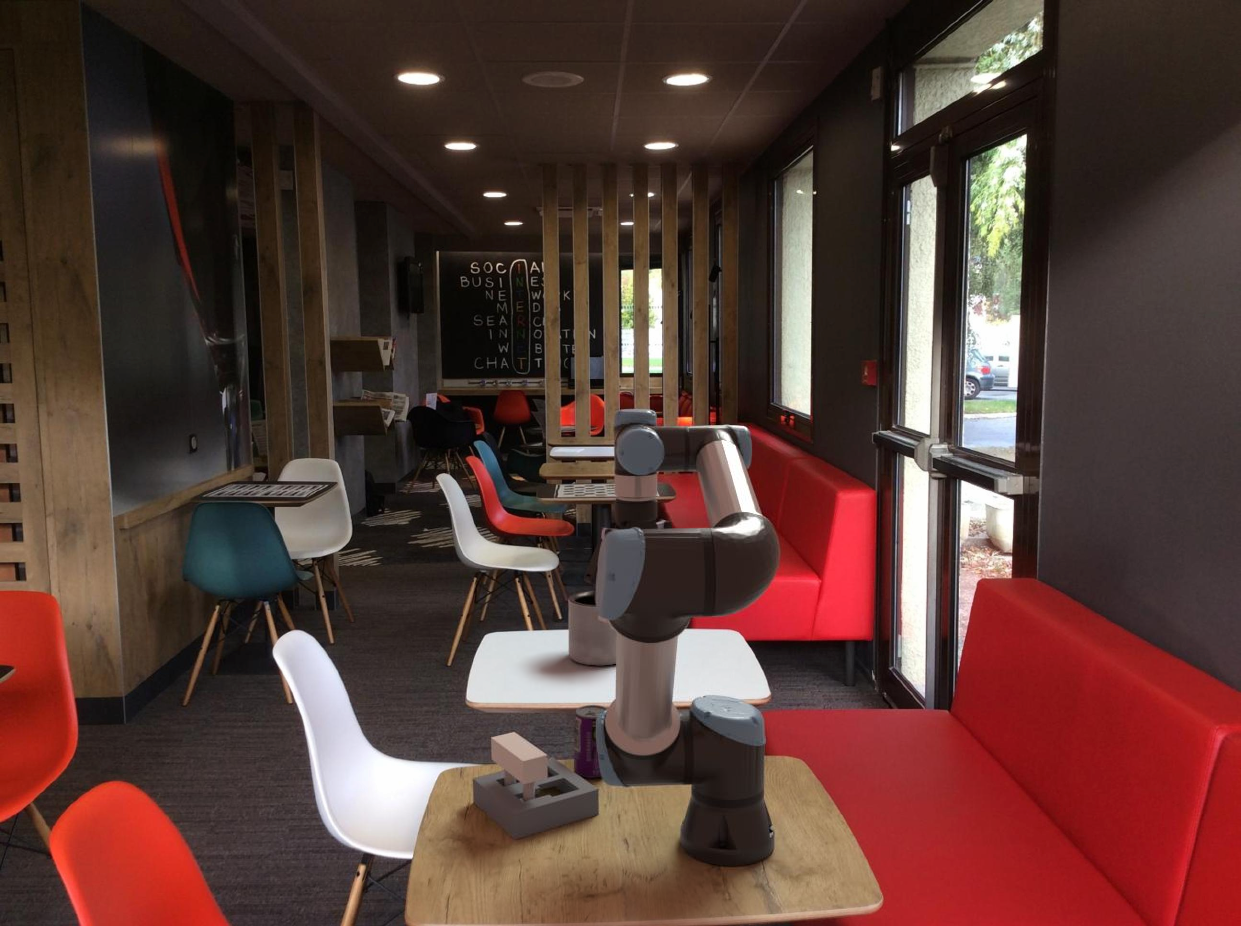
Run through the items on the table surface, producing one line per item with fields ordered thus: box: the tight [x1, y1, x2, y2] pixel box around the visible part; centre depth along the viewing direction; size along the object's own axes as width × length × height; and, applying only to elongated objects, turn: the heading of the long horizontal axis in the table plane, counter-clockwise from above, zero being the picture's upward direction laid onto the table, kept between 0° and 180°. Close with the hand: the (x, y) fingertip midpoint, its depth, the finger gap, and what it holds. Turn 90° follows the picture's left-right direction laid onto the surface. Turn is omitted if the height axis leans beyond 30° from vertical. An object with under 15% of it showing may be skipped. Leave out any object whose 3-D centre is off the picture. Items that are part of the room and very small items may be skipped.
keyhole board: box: [472, 757, 600, 840], centre depth 180 cm, size 16×16×4 cm
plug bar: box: [490, 731, 548, 802], centre depth 178 cm, size 12×4×12 cm, turn 33°
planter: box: [567, 590, 617, 667], centre depth 261 cm, size 16×16×16 cm
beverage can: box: [572, 704, 609, 779], centre depth 194 cm, size 7×7×12 cm
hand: (636, 615), depth 185 cm, fingers open, 13 cm apart
